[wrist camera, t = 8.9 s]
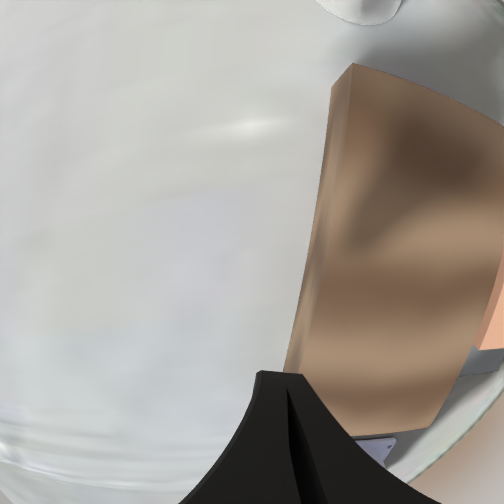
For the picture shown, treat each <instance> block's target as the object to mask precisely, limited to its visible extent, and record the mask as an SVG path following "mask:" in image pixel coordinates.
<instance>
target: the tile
mask: <svg viewBox="0 0 504 504" xmlns="http://www.w3.org/2000/svg"><path fill="white" fill-rule="evenodd" d="M473 345H474V346H475V347H476V348H477V349H478V350H488V349H500V348H504V249H503V254H502V258H501V262H500V266H499V269H498V273H497V277H496V280H495V284H494V287H493V290H492V293H491V297H490V300H489V303H488V306H487V309H486V311H485V314H484V317H483V320H482V322H481V325H480V328H479V330H478V333H477V335H476V338H475V340H474V343H473Z"/></svg>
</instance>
